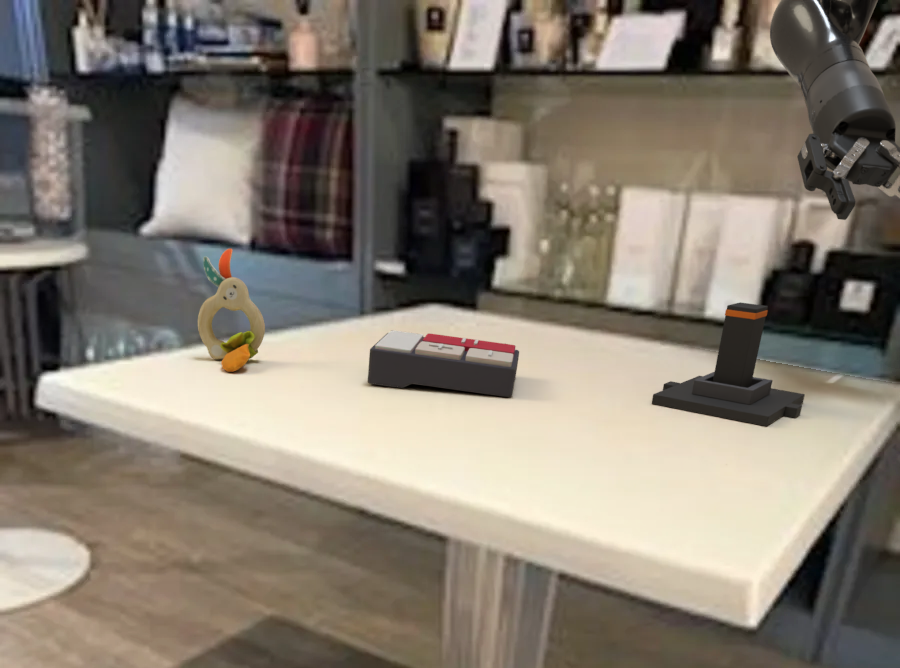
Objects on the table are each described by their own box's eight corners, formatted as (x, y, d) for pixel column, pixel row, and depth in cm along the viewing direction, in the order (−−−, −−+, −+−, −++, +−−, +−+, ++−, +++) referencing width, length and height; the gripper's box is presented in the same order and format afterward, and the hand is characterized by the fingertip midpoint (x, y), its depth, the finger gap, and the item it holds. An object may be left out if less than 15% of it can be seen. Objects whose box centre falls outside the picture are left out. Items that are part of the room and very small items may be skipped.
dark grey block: (722, 388, 95) (739, 302, 91) (750, 393, 94) (768, 306, 90) (709, 394, 92) (726, 305, 88) (738, 399, 91) (757, 309, 87)
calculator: (516, 361, 87) (369, 341, 88) (510, 403, 89) (366, 383, 90) (520, 342, 97) (388, 324, 98) (515, 381, 99) (385, 363, 100)
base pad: (687, 382, 102) (691, 360, 101) (814, 405, 95) (819, 382, 94) (640, 401, 91) (644, 377, 90) (779, 429, 85) (785, 403, 83)
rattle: (175, 366, 92) (166, 250, 87) (212, 353, 100) (205, 245, 95) (240, 374, 91) (235, 256, 86) (273, 360, 98) (270, 251, 93)
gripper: (804, 75, 92) (841, 176, 84) (928, 91, 94) (975, 191, 86) (772, 140, 99) (802, 240, 91) (888, 154, 100) (928, 253, 93)
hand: (886, 216), depth 89 cm, fingers open, 8 cm apart
